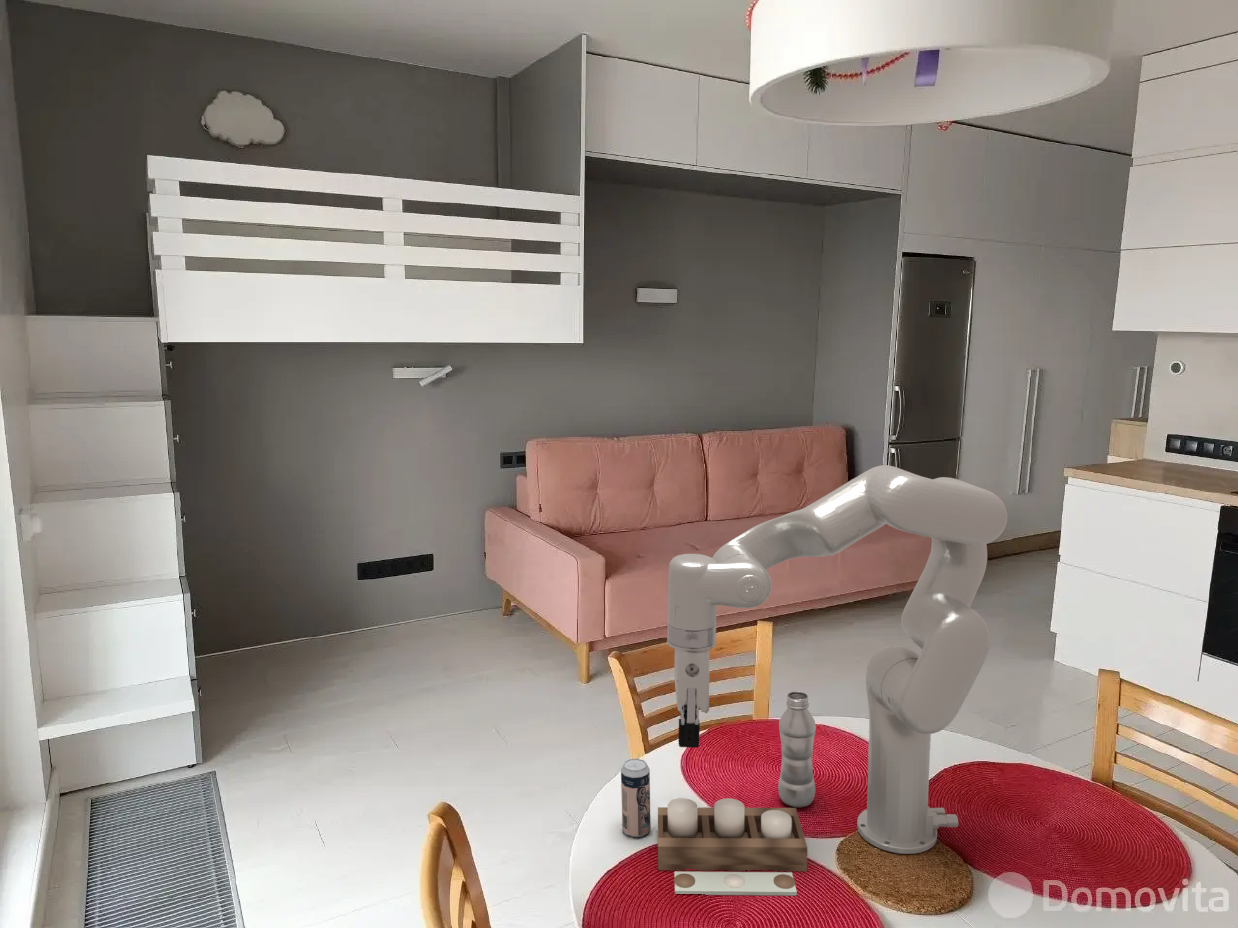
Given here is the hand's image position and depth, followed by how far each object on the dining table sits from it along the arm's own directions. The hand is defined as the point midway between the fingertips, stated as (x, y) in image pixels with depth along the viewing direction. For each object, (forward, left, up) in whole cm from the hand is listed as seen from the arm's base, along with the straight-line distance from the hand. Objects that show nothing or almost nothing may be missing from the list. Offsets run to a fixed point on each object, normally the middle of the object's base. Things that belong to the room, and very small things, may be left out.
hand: (688, 744), depth 135 cm
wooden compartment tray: (-6, 0, -18) cm, 19 cm away
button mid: (-6, 0, -15) cm, 16 cm away
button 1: (+1, 0, -15) cm, 15 cm away
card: (-6, +9, -18) cm, 21 cm away
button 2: (-14, 0, -17) cm, 22 cm away
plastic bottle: (-19, -14, -18) cm, 30 cm away
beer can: (+9, -5, -18) cm, 21 cm away
